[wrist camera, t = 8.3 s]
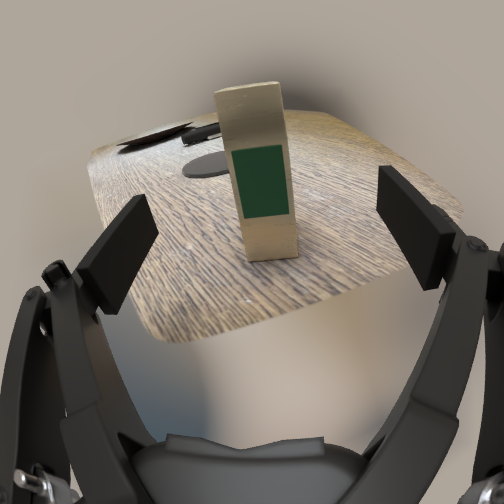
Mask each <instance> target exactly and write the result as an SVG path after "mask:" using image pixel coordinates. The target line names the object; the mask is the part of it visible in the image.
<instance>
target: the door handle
mask: <svg viewBox="0 0 504 504" xmlns="http://www.w3.org/2000/svg"><path fill="white" fill-rule="evenodd" d="M218 136H222V134H221V129H220V124H219V122H217V123H214V124H210V125H206V126H203V127H199V128H195V129H192V130H190V132H187V133H185V134H183V135H181V138H182V142H183V144H184V145H185V144H191V143H194V142H198V141H201V140H204V139H209V140H211V138H215V137H218Z"/></svg>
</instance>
